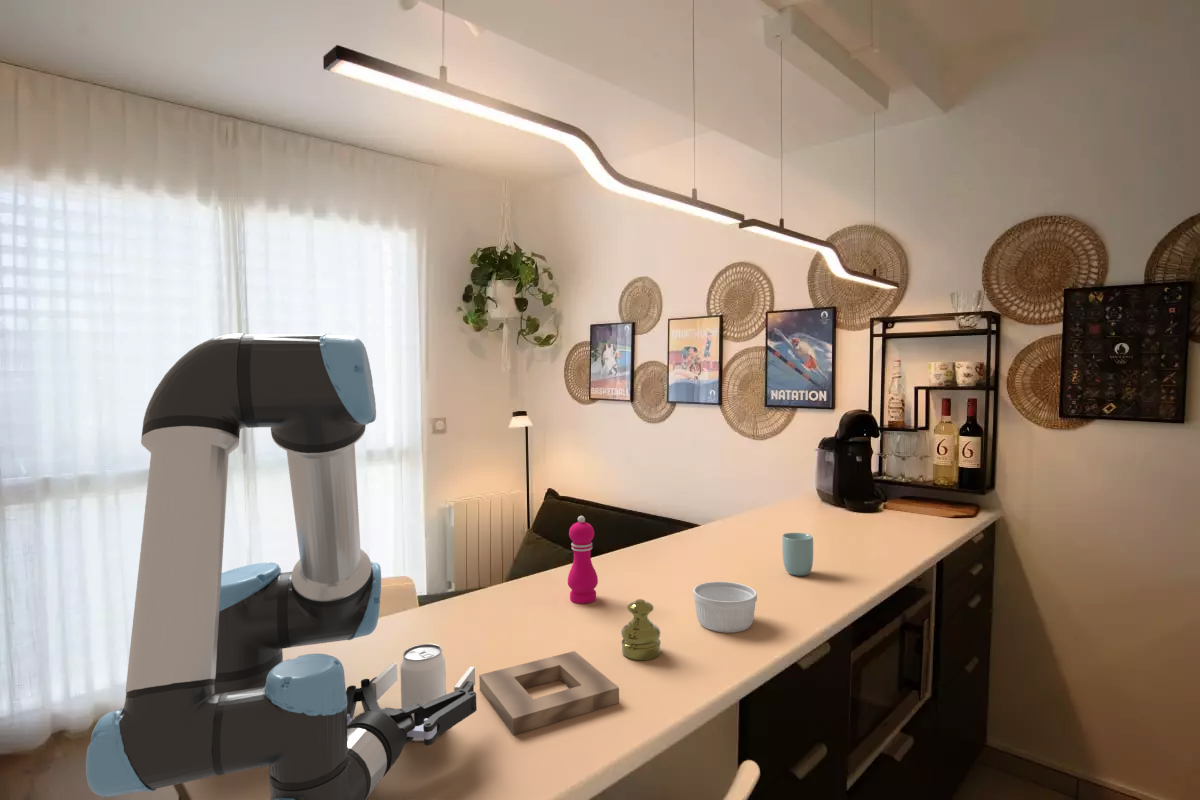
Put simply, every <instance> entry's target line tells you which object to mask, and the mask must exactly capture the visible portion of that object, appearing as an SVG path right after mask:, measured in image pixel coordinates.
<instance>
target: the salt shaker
mask: <svg viewBox="0 0 1200 800" xmlns="http://www.w3.org/2000/svg"><path fill="white" fill-rule="evenodd" d="M626 609H627V611H628V612H630V613H631V614H632V616H633V617H632V619H631V620H630V621H628V623H627V624H625V625H624V626H623V627H622V628H621V631H620V632H621V637H622V639H621V653H622V655H624V657H626V658H628V659H631V660H634V661H648V660H649V661H650V660H652V659H655V658H657V657H658V656H659V655H660V654H661V643H662V642H661V640H660V637H661V629H660V627H659V626H657V624H654V623H653V621H651V620H650V619H649V617H648V616H649V615H650V614H651V612H653V611H654V605H653V604H652V603H651V602H649V601H646V600H645V599H641V598H639V599H636V600H634V601H632V602H630V603H628V604H627V607H626Z"/></svg>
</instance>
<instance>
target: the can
mask: <svg viewBox="0 0 1200 800" xmlns="http://www.w3.org/2000/svg"><path fill="white" fill-rule="evenodd" d="M442 648H443V647H442V646H441V645H438V644H435V643H421V644H418V645H417V644H416V645H413V646H410V647H409V648H407V649H405V650H404V651H403V653H402V656H403V658H402V660H401V662H400V668H399V669H400V670H399V671H400V697H401V698H400V702H401V708H402V709H404V708H406V707H409V706H411V705H414V704H419V705H423V704H425V703H427V702H430V701H432V700H435V699H437V698H439V697H442V696H444V695H447V674H446V673H447V671H446V669H447V668H446V658H445V655H444V653H443V652H442V651H443V649H442ZM411 716H412V718H413V720H414V713H413V714H411ZM440 736H441V735H439V736H438V737H440ZM410 742H415V743H421V742H423V743H424V738H415V737H414V738H413V739H412V740H411V741H410Z"/></svg>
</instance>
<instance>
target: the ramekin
mask: <svg viewBox="0 0 1200 800" xmlns="http://www.w3.org/2000/svg"><path fill="white" fill-rule="evenodd" d="M757 595H758V594H757V591H756V590H755V589H754V588H752V587H751V586H748V585H746V584H744V583H743V584H742V583H738V582H732V581H707V582H703V583H700V584H697V585H696V586H694V588H693V590H692V596H693V599H694V605H695V615H696V619H697V621H698V622H699V624H700V625H701V626H702V627H703V628H704V629H708V630H709V631H713V632H717V633H724V634H725V633H728V634H730V633H738V632H739V633H741V632H743V631H746V630H747V629H749V628H750V627H751V625H752V624H753V622H754V617H755V610H756V608H755V607H756V602H757V600H758V596H757Z"/></svg>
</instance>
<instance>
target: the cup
mask: <svg viewBox="0 0 1200 800" xmlns="http://www.w3.org/2000/svg"><path fill="white" fill-rule="evenodd" d="M781 539H782V542H781V545H782V550H781V551H782V561H783V566H784V569H785V571H786V572H787V573H789V574H790V575H792V576H795V577H796V576H797V577H803V576H807V575H808V574H810V573H811V572H812V569H813V565H814V537H813V535H811V534H808V533H804V532H787V533H786V532H785V533H784V534H782V538H781Z"/></svg>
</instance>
